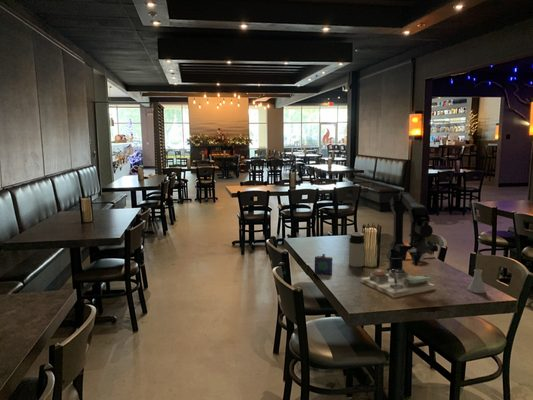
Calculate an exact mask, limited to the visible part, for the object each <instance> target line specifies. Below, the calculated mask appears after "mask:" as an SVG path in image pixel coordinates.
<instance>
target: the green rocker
mask: <svg viewBox="0 0 533 400" xmlns="http://www.w3.org/2000/svg"><path fill="white" fill-rule="evenodd" d="M405 279H408V280H409V283H418V282H423V281H427V282H428V281H432V277H431V276H428V277H424V275H416V276H413V277H410V278H404V279H401V282H405Z"/></svg>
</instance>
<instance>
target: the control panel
mask: <svg viewBox="0 0 533 400" xmlns="http://www.w3.org/2000/svg"><path fill="white" fill-rule="evenodd" d="M374 274H375V272H372V273H369V276H366V277H361V278H360V283H361V284H364V285H366V286H369V287H371V288H373V289H375V290H377V291H378V292H381V293H383V294H385V295H387V296H389V297H391V298H394V299H395V298H399V297H403V296H408V295H414V294H418V293H424V292H429V291H433V290H435V289H436V284H433V283H431V282H428V281H423V282H418V283H409V280H408V279H405V282H401V279H404V278H410V277H414V276H413V275H411V274H408V272H407V271H405V270H404V271H403V273H395V275H396V279H397V284H395V282H394V278H393V274H392V272H391V270H388V273H384V276H381V277H378V276H375V275H374ZM423 276H424V277H429V276H427V275H425V274H423Z"/></svg>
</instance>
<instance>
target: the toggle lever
mask: <svg viewBox="0 0 533 400" xmlns="http://www.w3.org/2000/svg"><path fill="white" fill-rule="evenodd" d="M391 272H392V274H393V278H394V282H395V284H397V279H396V275H395V270H394V269H391Z"/></svg>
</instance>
